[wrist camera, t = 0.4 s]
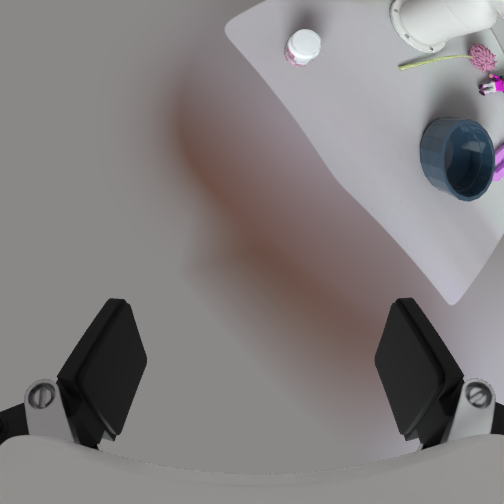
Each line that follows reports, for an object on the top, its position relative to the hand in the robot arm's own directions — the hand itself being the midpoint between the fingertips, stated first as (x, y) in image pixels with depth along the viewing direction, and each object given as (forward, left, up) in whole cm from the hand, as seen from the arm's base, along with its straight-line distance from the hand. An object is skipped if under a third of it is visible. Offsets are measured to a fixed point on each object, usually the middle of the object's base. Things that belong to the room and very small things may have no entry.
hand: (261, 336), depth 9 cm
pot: (-28, +24, -40) cm, 54 cm away
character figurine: (-51, +22, -40) cm, 68 cm away
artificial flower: (-42, +11, -40) cm, 59 cm away
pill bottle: (-19, -8, -40) cm, 45 cm away
